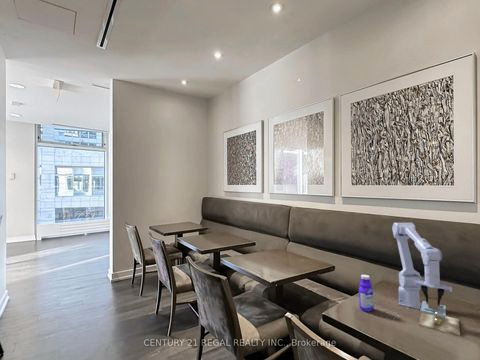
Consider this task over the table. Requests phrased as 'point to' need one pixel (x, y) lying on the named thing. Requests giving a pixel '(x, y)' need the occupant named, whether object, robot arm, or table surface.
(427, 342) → the table surface
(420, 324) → the board
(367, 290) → the bottle
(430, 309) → the panel
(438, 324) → the bosses
